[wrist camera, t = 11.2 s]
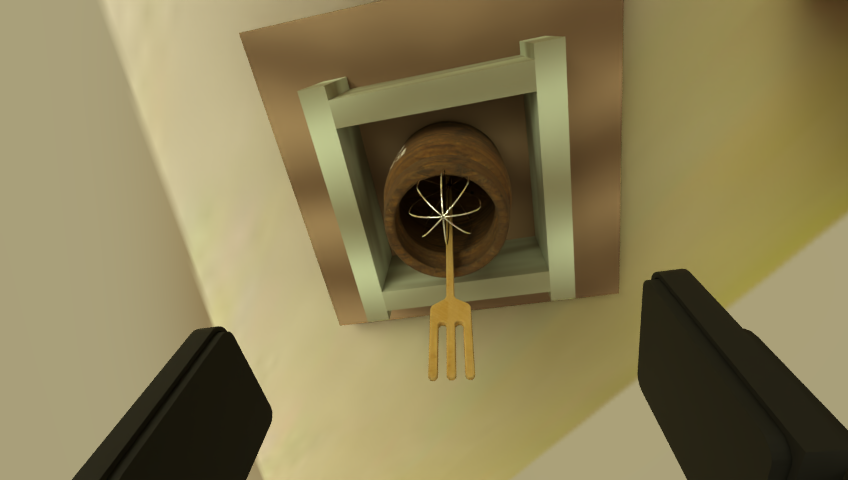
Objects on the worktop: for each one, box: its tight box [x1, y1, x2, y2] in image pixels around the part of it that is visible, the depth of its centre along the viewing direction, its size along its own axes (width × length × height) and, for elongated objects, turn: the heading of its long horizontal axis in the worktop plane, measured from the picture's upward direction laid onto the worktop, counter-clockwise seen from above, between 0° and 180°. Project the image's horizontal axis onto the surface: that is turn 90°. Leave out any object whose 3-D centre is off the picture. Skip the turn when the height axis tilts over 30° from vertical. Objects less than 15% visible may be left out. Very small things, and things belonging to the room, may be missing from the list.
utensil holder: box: [384, 121, 512, 381], centre depth 17 cm, size 6×6×12 cm
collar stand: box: [239, 0, 624, 325], centre depth 22 cm, size 18×18×6 cm
